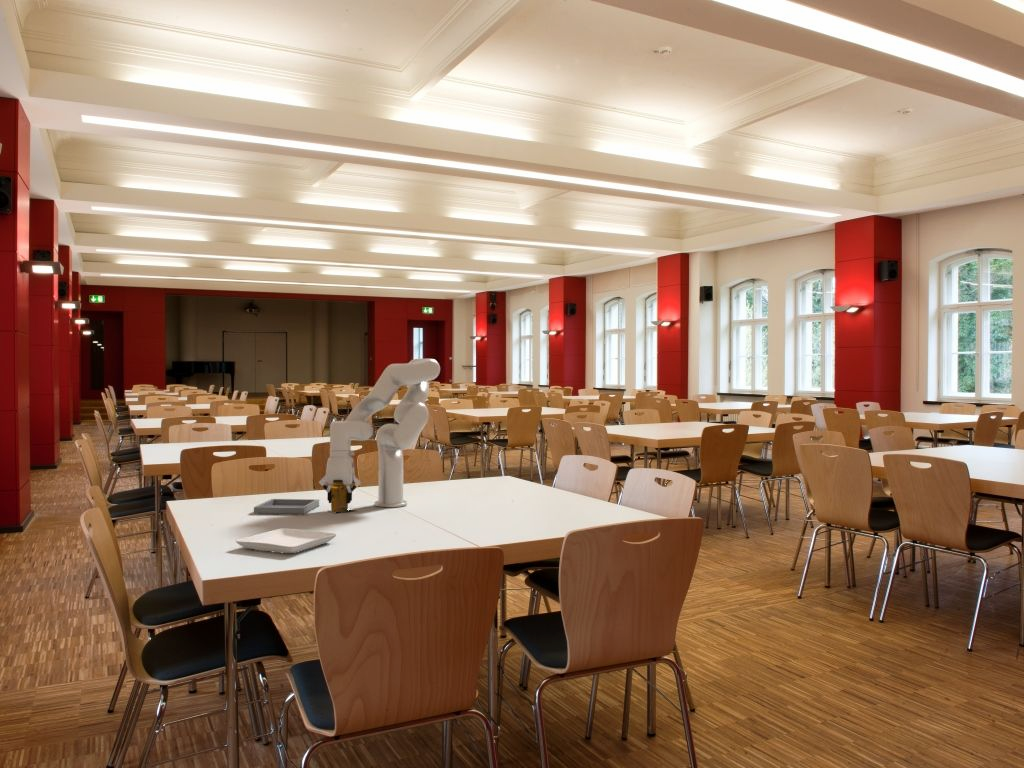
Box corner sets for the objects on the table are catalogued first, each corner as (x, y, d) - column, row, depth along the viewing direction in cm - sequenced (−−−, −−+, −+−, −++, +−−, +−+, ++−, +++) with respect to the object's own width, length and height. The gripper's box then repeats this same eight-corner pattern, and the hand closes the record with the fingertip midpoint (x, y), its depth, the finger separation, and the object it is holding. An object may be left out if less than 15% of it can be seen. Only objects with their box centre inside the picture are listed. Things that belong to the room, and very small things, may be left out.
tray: (272, 505, 296) (272, 498, 296) (319, 506, 296) (319, 499, 296) (253, 514, 278) (253, 507, 278) (303, 514, 277) (303, 508, 277)
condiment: (327, 510, 286) (327, 478, 286) (348, 508, 291) (348, 476, 291) (335, 513, 280) (335, 480, 280) (356, 511, 285) (356, 479, 285)
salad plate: (281, 537, 242) (281, 526, 242) (338, 543, 234) (338, 532, 234) (233, 551, 222) (233, 539, 222) (293, 559, 214) (293, 546, 214)
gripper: (365, 453, 289) (365, 501, 289) (320, 453, 290) (319, 500, 290) (360, 456, 281) (360, 505, 281) (314, 455, 282) (313, 504, 282)
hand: (339, 502), depth 286 cm, fingers closed on condiment, 6 cm apart
